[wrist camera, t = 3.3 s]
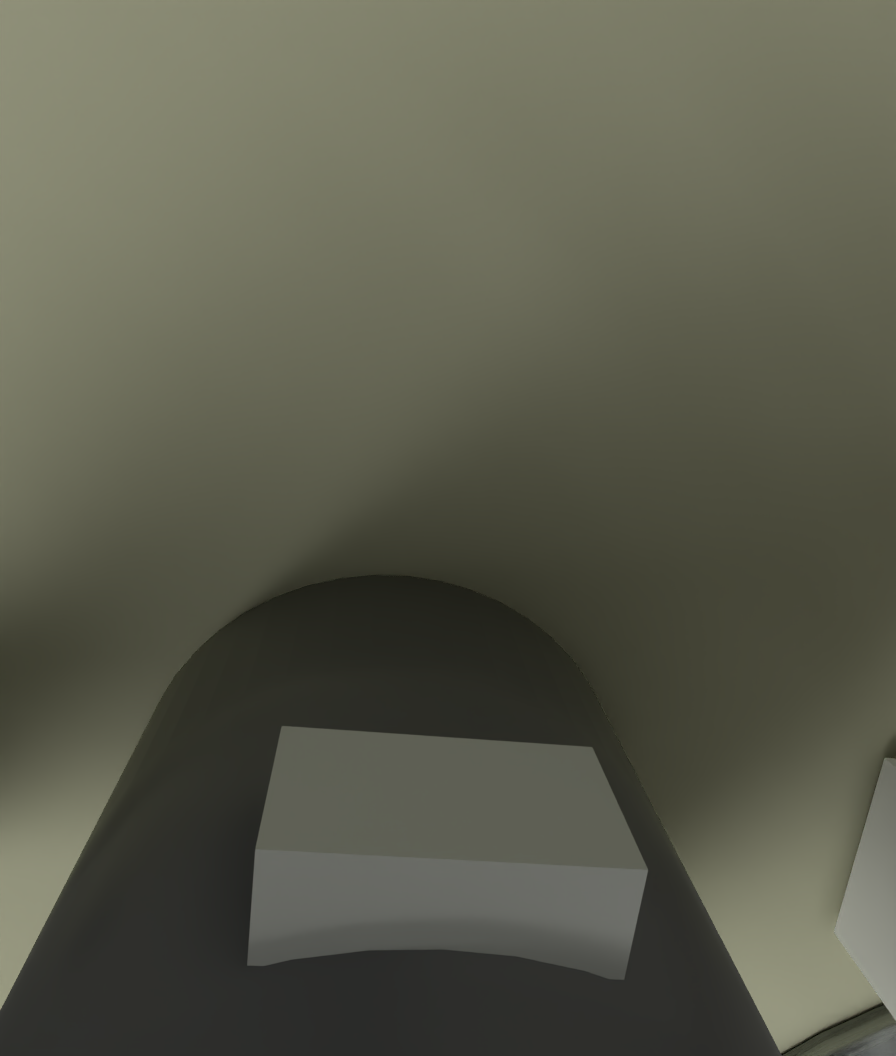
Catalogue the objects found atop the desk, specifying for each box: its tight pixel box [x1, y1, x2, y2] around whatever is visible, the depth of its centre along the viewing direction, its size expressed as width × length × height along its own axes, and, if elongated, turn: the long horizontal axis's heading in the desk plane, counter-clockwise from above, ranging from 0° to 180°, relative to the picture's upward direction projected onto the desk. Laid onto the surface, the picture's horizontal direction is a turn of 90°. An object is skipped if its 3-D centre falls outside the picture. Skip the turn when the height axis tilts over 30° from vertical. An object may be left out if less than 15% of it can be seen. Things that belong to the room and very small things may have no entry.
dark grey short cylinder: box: [0, 575, 782, 1056], centre depth 8 cm, size 7×6×6 cm
